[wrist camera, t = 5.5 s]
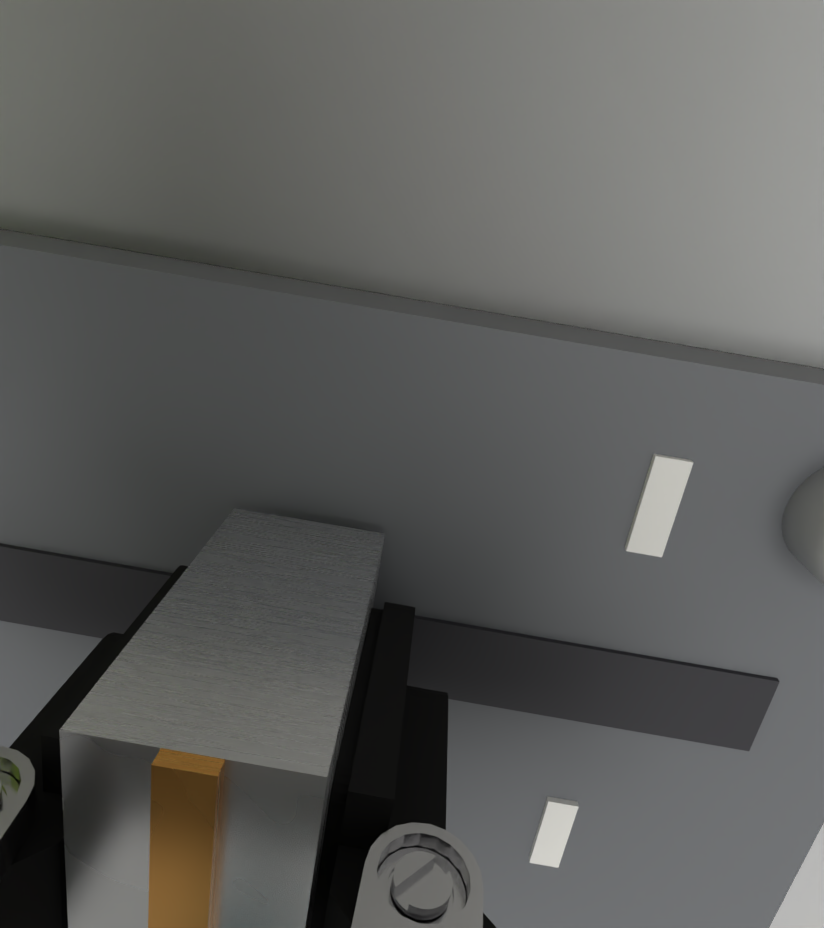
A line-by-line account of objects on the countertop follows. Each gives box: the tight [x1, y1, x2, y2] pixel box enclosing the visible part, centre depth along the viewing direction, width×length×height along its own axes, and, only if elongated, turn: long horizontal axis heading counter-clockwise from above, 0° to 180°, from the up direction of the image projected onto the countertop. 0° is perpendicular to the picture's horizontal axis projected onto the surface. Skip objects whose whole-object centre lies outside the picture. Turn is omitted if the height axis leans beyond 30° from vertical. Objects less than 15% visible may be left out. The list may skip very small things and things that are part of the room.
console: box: [0, 229, 824, 928], centre depth 13 cm, size 18×20×4 cm
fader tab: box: [59, 508, 385, 928], centre depth 9 cm, size 5×2×5 cm, turn 171°
